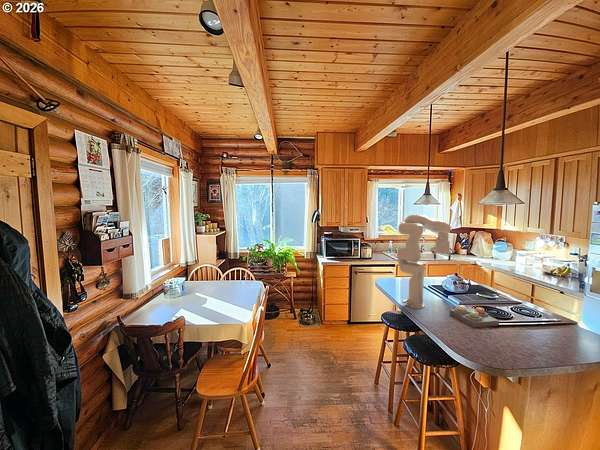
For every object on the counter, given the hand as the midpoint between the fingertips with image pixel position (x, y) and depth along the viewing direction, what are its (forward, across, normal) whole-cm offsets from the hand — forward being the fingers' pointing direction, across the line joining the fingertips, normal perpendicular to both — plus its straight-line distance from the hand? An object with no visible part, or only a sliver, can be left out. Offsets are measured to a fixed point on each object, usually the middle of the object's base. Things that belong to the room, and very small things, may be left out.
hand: (442, 260), depth 214 cm
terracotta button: (+24, +24, -40) cm, 52 cm away
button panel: (+29, +20, -43) cm, 55 cm away
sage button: (+25, +20, -49) cm, 58 cm away
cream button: (+24, +14, -41) cm, 50 cm away
